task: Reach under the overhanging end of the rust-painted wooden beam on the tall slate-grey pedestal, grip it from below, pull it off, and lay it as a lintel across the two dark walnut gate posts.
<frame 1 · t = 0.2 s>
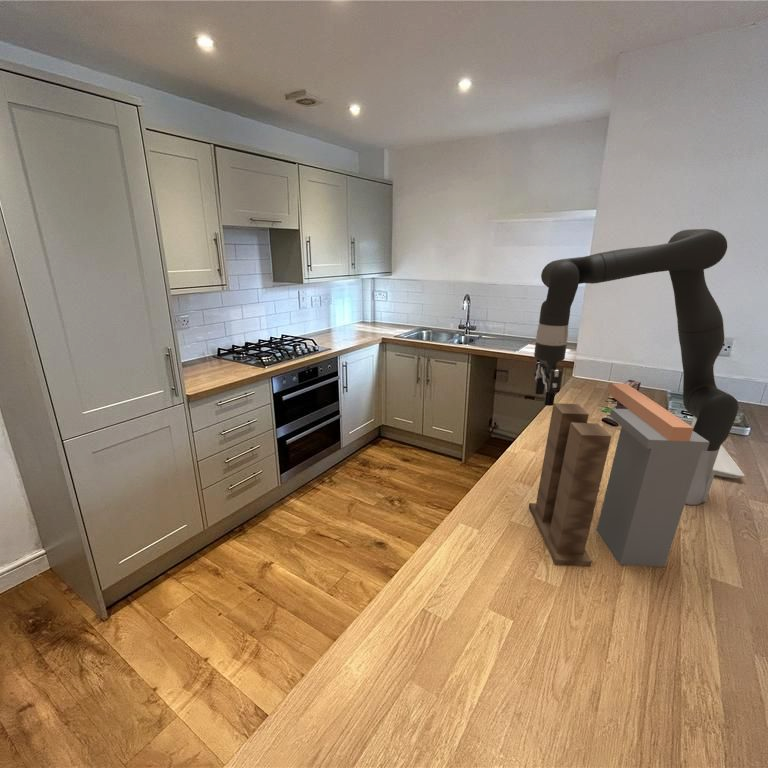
hand: (543, 399, 112), 29 cm above the table, tool pointing down, fingers open, 8 cm apart
pedestal: (624, 541, 102), on the table
beam: (643, 414, 95), point 32 cm above the table, touching pedestal
gate: (556, 534, 104), on the table
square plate: (680, 456, 144), on the table
syrup box: (700, 432, 162), on the table
supplement box: (622, 419, 172), on the table
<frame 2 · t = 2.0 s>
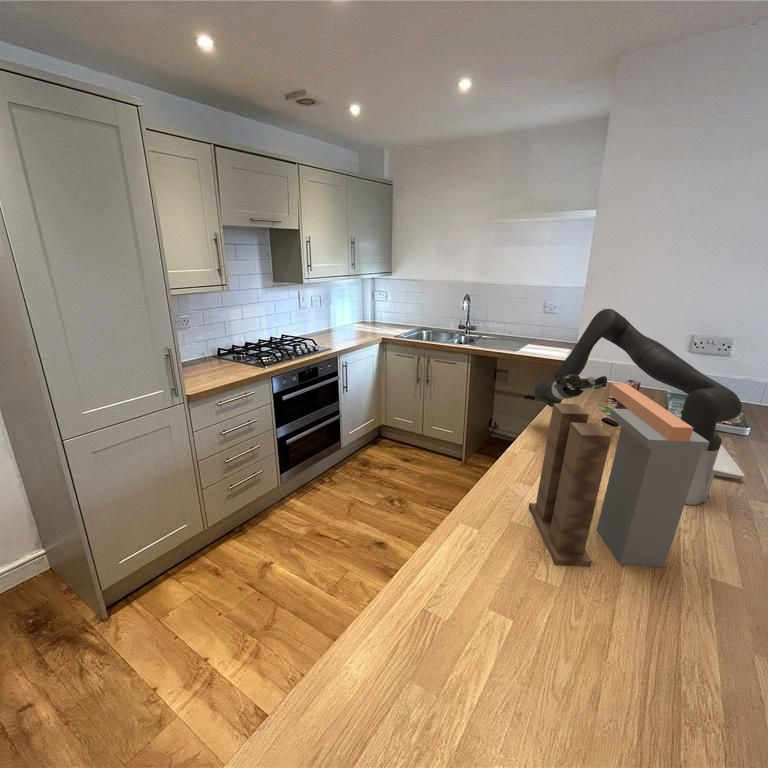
hand: (590, 379, 122), 31 cm above the table, tool pointing upward, fingers open, 8 cm apart
nothing on the table moved.
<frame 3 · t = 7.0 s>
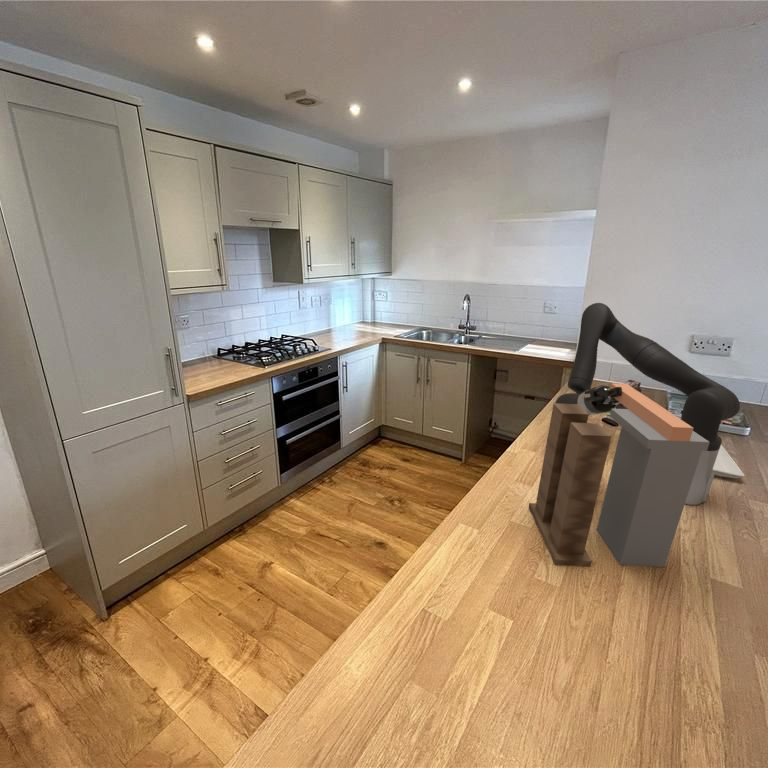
hand: (629, 391, 102), 35 cm above the table, tool pointing upward, fingers closed on beam, 4 cm apart
beam: (643, 414, 95), point 32 cm above the table, touching gripper, pedestal
everything else where it was.
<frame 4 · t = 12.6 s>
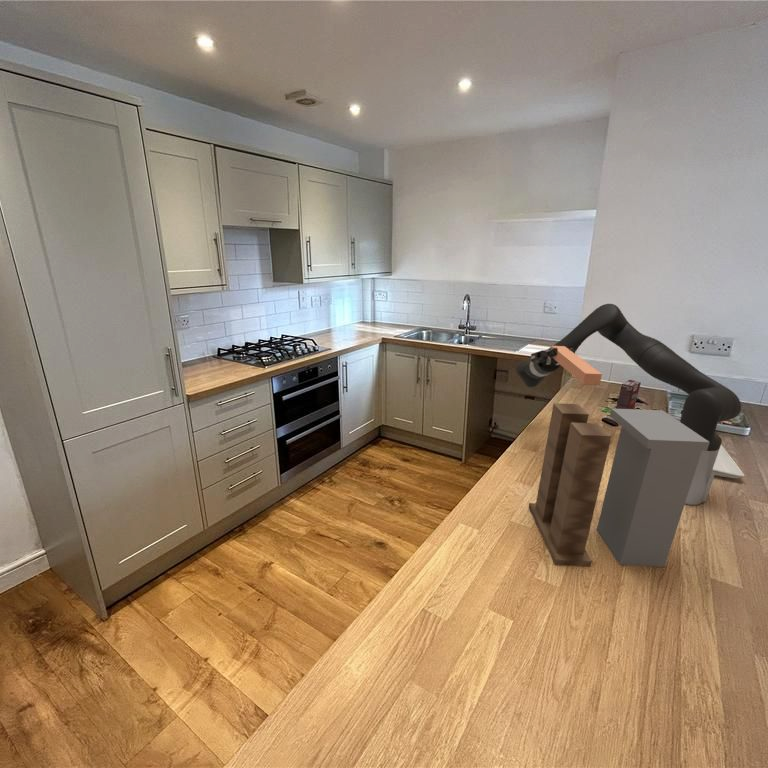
hand: (564, 351, 121), 39 cm above the table, tool pointing upward, fingers closed on beam, 4 cm apart
beam: (572, 368, 115), point 36 cm above the table, touching gripper
everything else where it was.
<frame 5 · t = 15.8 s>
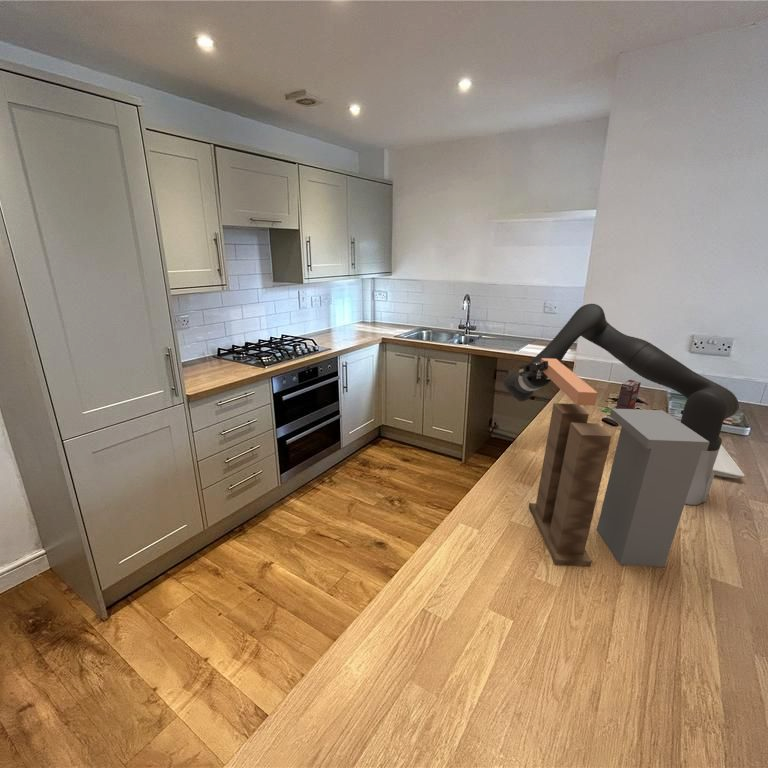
hand: (555, 364, 108), 39 cm above the table, tool pointing upward, fingers closed on beam, 4 cm apart
beam: (564, 384, 102), point 36 cm above the table, touching gripper
everything else where it was.
when the fingers open (36 cm above the table, at t = 18.5 s): beam stays where it is, resting on gate.
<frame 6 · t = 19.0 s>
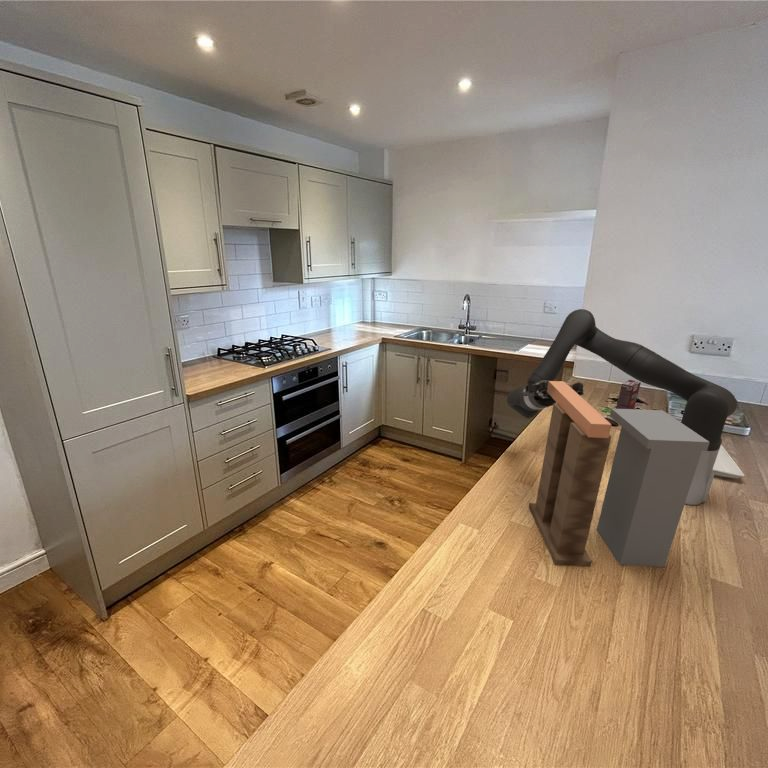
hand: (563, 385, 103), 35 cm above the table, tool pointing upward, fingers open, 8 cm apart
beam: (573, 411, 96), point 32 cm above the table, touching gate
everything else where it was.
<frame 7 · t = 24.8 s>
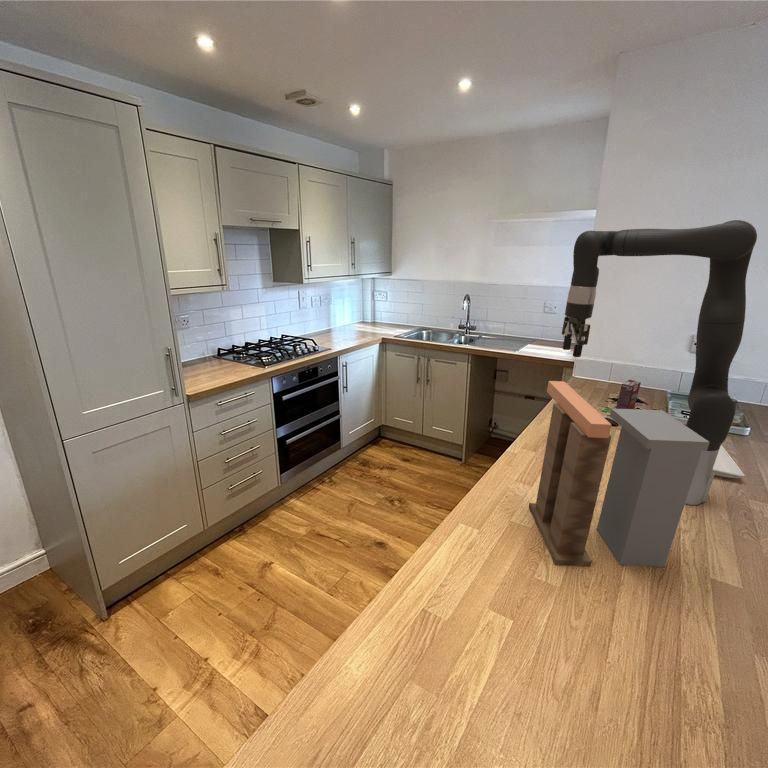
hand: (571, 353, 130), 36 cm above the table, tool pointing down, fingers open, 8 cm apart
nothing on the table moved.
at the end: beam 0.0 cm from the target spot, point 32.0 cm above the table; beam tilted 0°; the gripper is holding nothing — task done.
